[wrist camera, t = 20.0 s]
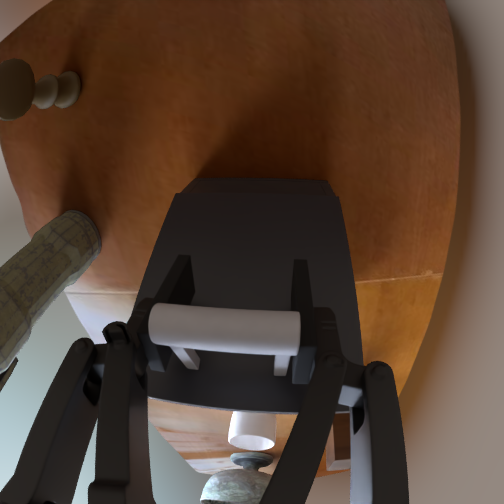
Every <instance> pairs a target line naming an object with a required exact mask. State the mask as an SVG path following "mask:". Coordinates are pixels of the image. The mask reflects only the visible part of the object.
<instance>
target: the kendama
mask: <svg viewBox="0 0 504 504" xmlns="http://www.w3.org/2000/svg"><path fill="white" fill-rule="evenodd" d="M80 87H81V84H80V78H79V76H78V75H77V73H75V72H72V71H68V72H64V73H62V74H61V75H59V76H58V77H56V76H55V75H51V74H50V75H46V76H44V77H42V78H41V79H40V80H39V81H38V82H37V83H35V80H34V74H33V72H32V69H31V67H30V65H29V64H27V63H26V62H25V61H24V60H21V59H15V58H13V59H10V60H6V61H4V62H2V63H1V64H0V119H1V120H3V121H10V120H15V119H17V118H19V117H21V116H23V115H24V114H25V113H26V112H27V111H28V110H29V109H30V107H31V105H32V104H35V105H36V106H37V107H38V108H40V109H47V108H49V107H51V106H52V105H53V104H55V106H57V107H59V108H67V107H69V106H71V105H73V104H74V103H75V101H76V100H77V99H78V96H79V94H80Z"/></svg>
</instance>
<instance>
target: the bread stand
mask: <svg viewBox="0 0 504 504" xmlns="http://www.w3.org/2000/svg"><path fill="white" fill-rule="evenodd" d="M326 465H327V471H331V470H344V469H351V437H350V413H337V414H335V416H334V420H333V423H332V427H331V430H330V434H329V437H328V440H327V443H326Z"/></svg>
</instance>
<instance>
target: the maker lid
mask: <svg viewBox="0 0 504 504" xmlns="http://www.w3.org/2000/svg"><path fill="white" fill-rule="evenodd" d="M178 254H180V255H190V256H191V263H192V271H193V278H194V285H195V294H194V296H193V299H192V302H191V304H190V306H187V305H176V304H165V303H157V304H155V305H154V306H153V308H152V310H151V313H150V316H149V324H148V328H149V336H150V339H151V341H152V342H153V343H155V344H159V345H166V346H170V347H171V349H172V350H173V352H172V355H171V358H170V360H169V363H168V366H167V369H166V372H161V371H155V370H151V368H150V366H149V363H148V365H147V368H146V371H147V375H148V398H150V399H155V400H160V401H165V402H170V403H176V404H182V405H188V406H194V407H201V408H209V409H217V410H227V411H237V412H250V413H266V414H298V413H299V410H300V407H301V405H302V402H303V399H304V396H305V394H306V391H307V388H308V385H309V384H292V356H295V355H297V354H298V351H299V345H300V329H301V322H300V314H299V312H296V311H291V288H292V276H293V265H294V259H305V260H307V263H308V270H309V277H310V285H311V292H312V300H313V307H330V308H331V310H332V311H333V312H334V314H335V317H336V323H337V327H338V333H339V338H340V344H341V349H342V353H343V355H344V356H345V357H346V359H347V360H349V361H350V362H352V363H355V364H358V365H363V366H364V364H363V351H362V340H361V330H360V321H359V312H358V304H357V296H356V289H355V282H354V275H353V269H352V263H351V257H350V251H349V245H348V240H347V234H346V229H345V224H344V219H343V214H342V209H341V204H340V200H339V197H338V196H322V195H301V194H273V193H176V194H175V196H174V198H173V201H172V203H171V206H170V208H169V211H168V213H167V215H166V218H165V220H164V223H163V225H162V228H161V231H160V233H159V236H158V238H157V241H156V244H155V246H154V249H153V252H152V255H151V257H150V260H149V263H148V266H147V269H146V271H145V274H144V277H143V280H142V283H141V286H140V289H139V292H138V295H137V298H136V302H135V305H134V308H133V311H132V313H133V312H134V311H135V308H136V306H137V305H138V303H139V302H140V301H141V300H143V299H144V298H145V297H148V298H154V297H155V295H156V294H157V292H158V290H159V288H160V286H161V284H162V283H163V281H164V279H165V277H166V275H167V274H168V272H169V270H170V268H171V267H172V265H173V263H174V261H175V260H176V258H177V256H178ZM131 316H132V314H131ZM309 382H310V380H309ZM337 413H350V410H349V406H346V405H342V404H338V405H337V409H336V413H335V414H337Z"/></svg>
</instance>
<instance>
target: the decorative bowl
mask: <svg viewBox="0 0 504 504" xmlns="http://www.w3.org/2000/svg"><path fill="white" fill-rule="evenodd" d="M231 461H232V462H233V463H235V464H236V465H240V466H243V468H244V469H232V470H224V471H221V472H218V473H215V474H214V475H213V476H211V478H210V479H209V480H208V481H207V483H206V485H205V487H204V489H203V493H202V496H201V499H200V502H201V503H202V504H259V502H260V500H261V498H262V496H263V494H264V492H265V490H266V488H267V486H268V484H269V481H270V479H271V477H272V475H270V474H267V473H264V472H259V471H258V469H259V468H261V467H266V466H268V465H270V464H271V463H273V457H272V456H271V455H268V454H265V453H260V452H240V453H234V454H232V455H231Z"/></svg>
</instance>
